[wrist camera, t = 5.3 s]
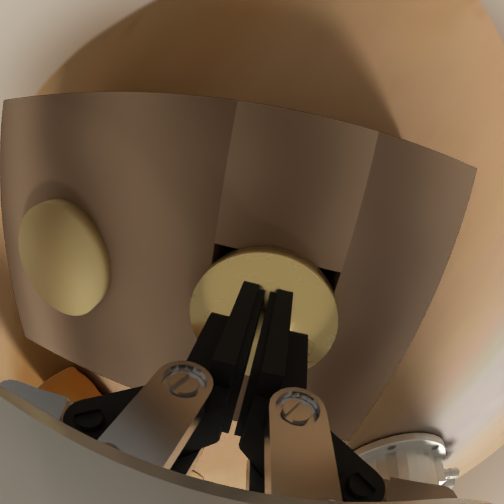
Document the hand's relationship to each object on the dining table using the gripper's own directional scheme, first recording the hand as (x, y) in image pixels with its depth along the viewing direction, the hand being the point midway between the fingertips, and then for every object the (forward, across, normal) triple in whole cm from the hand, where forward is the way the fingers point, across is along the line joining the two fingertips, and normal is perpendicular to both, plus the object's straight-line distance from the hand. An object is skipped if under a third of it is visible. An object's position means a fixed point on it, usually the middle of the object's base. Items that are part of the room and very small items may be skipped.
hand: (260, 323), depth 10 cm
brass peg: (+8, 0, 0) cm, 8 cm away
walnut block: (+9, +4, 0) cm, 10 cm away
